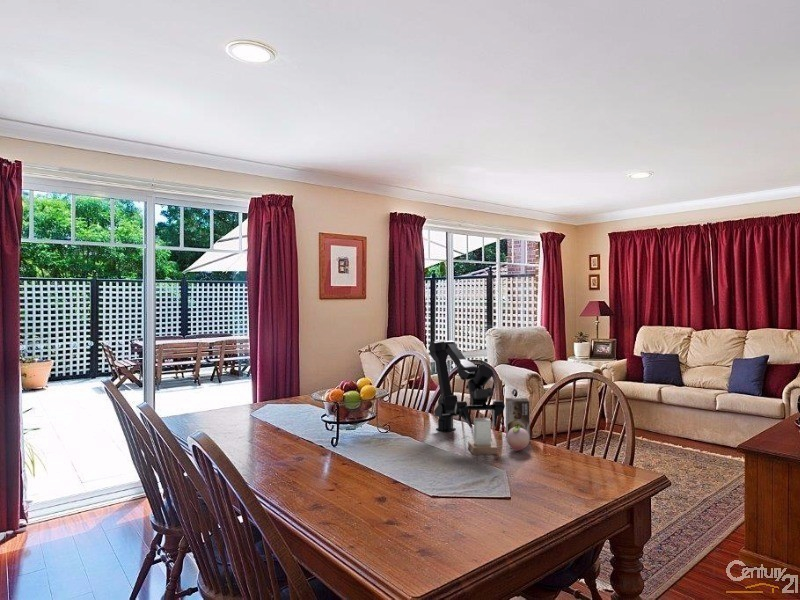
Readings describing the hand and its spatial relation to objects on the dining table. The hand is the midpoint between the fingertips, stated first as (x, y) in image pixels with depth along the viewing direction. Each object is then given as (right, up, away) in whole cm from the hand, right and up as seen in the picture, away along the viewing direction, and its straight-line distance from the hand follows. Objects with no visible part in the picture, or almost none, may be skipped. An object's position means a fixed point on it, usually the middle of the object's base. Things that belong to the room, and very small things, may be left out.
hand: (483, 427), depth 192 cm
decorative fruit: (+13, -10, +1) cm, 16 cm away
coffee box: (+17, -10, +19) cm, 28 cm away
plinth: (0, -9, +1) cm, 9 cm away
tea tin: (0, -7, +1) cm, 7 cm away
